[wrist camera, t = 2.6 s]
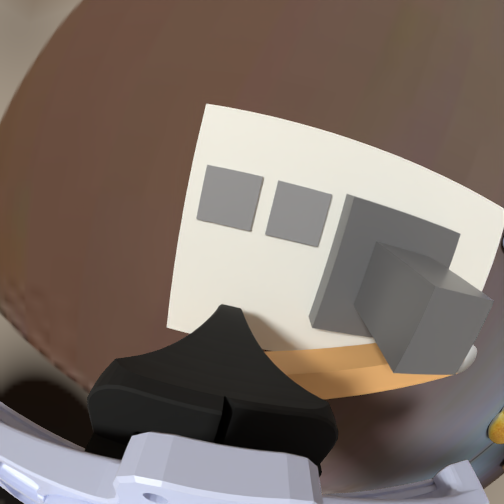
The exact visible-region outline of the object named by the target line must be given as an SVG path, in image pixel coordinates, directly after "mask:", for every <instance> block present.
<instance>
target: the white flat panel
mask: <svg viewBox="0 0 504 504" xmlns="http://www.w3.org/2000/svg"><path fill="white" fill-rule="evenodd" d="M346 194H350V195H353V196H356V197H359V198H363V199H366V200H369V201H372V202H375V203H378V204H381V205H385V206H388V207H391V208H393V209H396V210H399V211H402V212H405V213H408V214H411V215H414V216H416V217H419V218H422V219H425V220H427V221H430V222H433V223H435V224H438V225H441V226H443V227H446V228H448V229H451V230H453V231H455V232H458V233H460V238H459V241H458V244H457V247H456V250H455V253H454V256H453V259H452V261H451V264H450V267H449V270H451V271H452V272H454V273H455V274H457V275H458V276H460V277H461V278H462V279H464V280H465V281H467V282H468V283H470V284H471V285H473V286H474V287H475V288H477V289H478V290H480V291H481V292H482V290H483V287H484V285H485V282H486V279H487V277H488V274H489V271H490V269H491V266H492V263H493V260H494V257H495V254H496V251H497V248H498V245H499V242H500V238H501V235H502V232H503V228H504V208H502V207H500V206H499V205H497V204H495V203H493V202H492V201H490V200H488V199H486V198H485V197H483V196H481V195H479V194H477V193H475V192H474V191H472V190H470V189H468V188H466V187H464V186H462V185H460V184H458V183H456V182H454V181H452V180H450V179H448V178H446V177H444V176H442V175H440V174H438V173H435V172H433V171H431V170H429V169H427V168H424V167H422V166H420V165H418V164H415V163H413V162H411V161H408V160H406V159H403V158H401V157H398V156H396V155H393V154H391V153H388V152H386V151H383V150H380V149H378V148H375V147H372V146H370V145H367V144H364V143H361V142H358V141H355V140H352V139H349V138H346V137H343V136H340V135H337V134H334V133H331V132H327V131H324V130H321V129H317V128H314V127H310V126H307V125H303V124H299V123H296V122H292V121H288V120H284V119H280V118H276V117H272V116H267V115H263V114H258V113H254V112H249V111H244V110H239V109H234V108H228V107H223V106H217V105H211V104H206V108H205V112H204V116H203V120H202V124H201V128H200V132H199V137H198V141H197V146H196V150H195V155H194V159H193V164H192V169H191V173H190V178H189V183H188V189H187V194H186V199H185V204H184V210H183V215H182V221H181V227H180V233H179V239H178V245H177V252H176V258H175V265H174V272H173V280H172V287H171V295H170V303H169V312H168V321H167V328H171V329H175V330H179V331H183V332H186V333H190V334H191V333H192V332H193V331H195V330H196V329H197V328H198V327H200V326H201V325H202V324H203V323H204V322H205V321H206V320H207V319H208V318H210V317H211V315H212V314H213V313H214V312H215V311H216V310H217V308H218V306H219V305H221V304H224V305H229V306H233V307H238V308H241V309H242V311H243V314H244V317H245V319H246V321H247V324H248V326H249V328H250V330H251V332H252V334H253V335H254V337H255V339H256V341H257V342H258V344H259V345H260V347H261V348H262V349H264V350H270V351H291V350H308V349H322V348H334V347H344V346H354V345H363V344H371V343H376V342H375V340H374V338H373V337H365V336H359V335H352V334H345V333H339V332H333V331H327V330H321V329H315V328H312V327H311V323H310V320H309V317H308V316H309V313H310V311H311V308H312V305H313V302H314V299H315V296H316V293H317V290H318V287H319V284H320V281H321V278H322V275H323V272H324V269H325V266H326V263H327V260H328V256H329V253H330V250H331V247H332V243H333V240H334V237H335V233H336V230H337V226H338V223H339V220H340V216H341V212H342V209H343V205H344V202H345V198H346Z"/></svg>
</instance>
